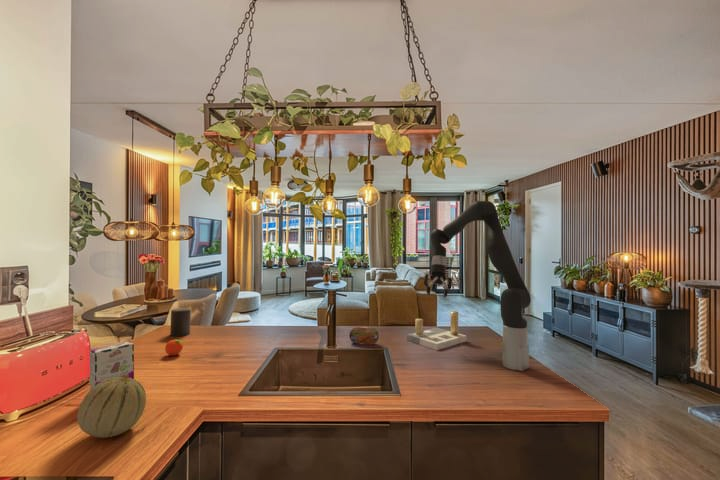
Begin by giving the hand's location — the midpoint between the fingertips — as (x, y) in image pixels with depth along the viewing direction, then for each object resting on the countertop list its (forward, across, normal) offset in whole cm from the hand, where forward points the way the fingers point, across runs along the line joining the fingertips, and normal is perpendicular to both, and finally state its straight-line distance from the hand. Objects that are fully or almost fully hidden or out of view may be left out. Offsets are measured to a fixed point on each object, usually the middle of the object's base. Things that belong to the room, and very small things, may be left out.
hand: (436, 295), depth 169 cm
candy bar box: (+57, -120, -38) cm, 138 cm away
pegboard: (+22, +5, +12) cm, 25 cm away
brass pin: (+17, +14, +11) cm, 25 cm away
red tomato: (+45, -119, -1) cm, 127 cm away
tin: (+29, -33, +10) cm, 45 cm away
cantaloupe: (+62, -105, -60) cm, 135 cm away
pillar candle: (+37, -133, +32) cm, 142 cm away
